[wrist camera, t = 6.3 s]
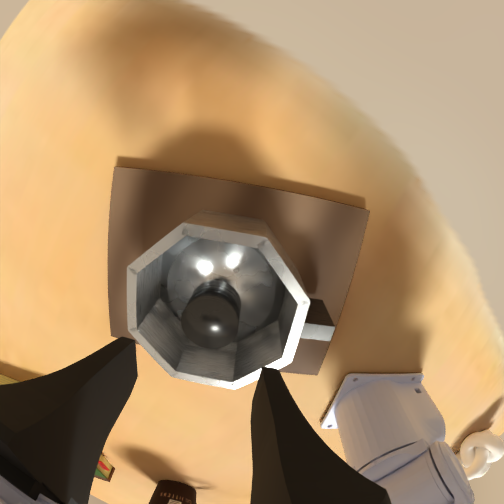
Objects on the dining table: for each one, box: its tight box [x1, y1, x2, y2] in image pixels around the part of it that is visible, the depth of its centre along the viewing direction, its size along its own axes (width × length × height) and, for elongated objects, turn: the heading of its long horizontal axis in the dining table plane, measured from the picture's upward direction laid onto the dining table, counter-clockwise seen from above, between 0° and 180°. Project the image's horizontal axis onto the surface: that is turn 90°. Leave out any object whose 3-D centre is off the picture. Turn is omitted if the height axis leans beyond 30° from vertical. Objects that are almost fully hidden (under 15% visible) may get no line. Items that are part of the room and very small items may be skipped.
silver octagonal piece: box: [127, 210, 335, 389], centre depth 17 cm, size 12×10×5 cm
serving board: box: [108, 167, 370, 375], centre depth 19 cm, size 18×14×1 cm
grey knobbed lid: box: [167, 238, 275, 349], centre depth 16 cm, size 7×7×5 cm
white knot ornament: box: [456, 430, 504, 480], centre depth 24 cm, size 11×12×9 cm
